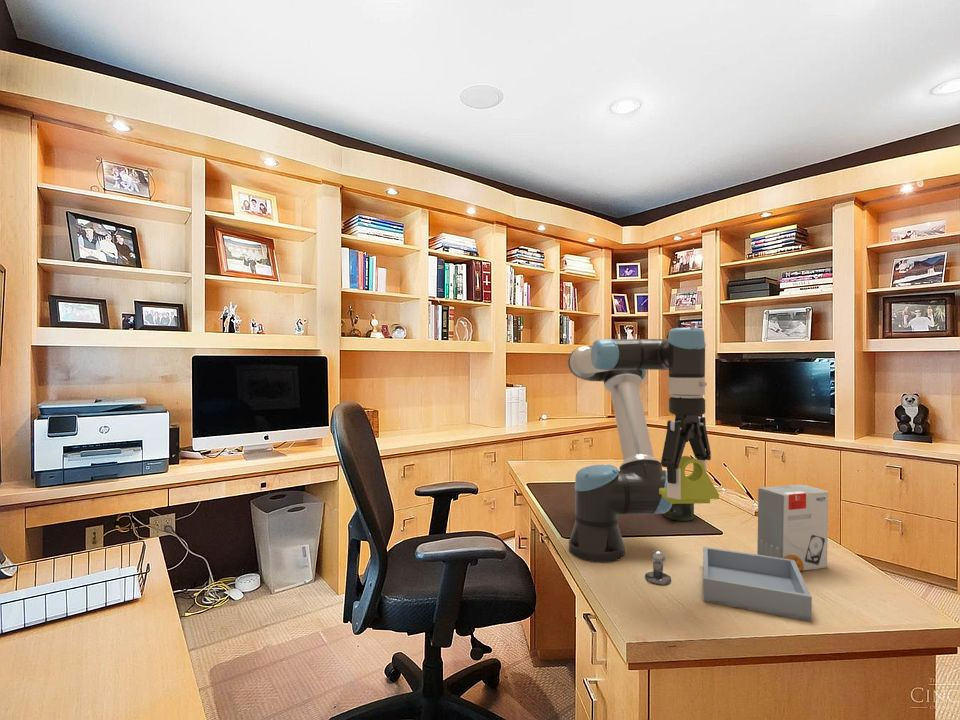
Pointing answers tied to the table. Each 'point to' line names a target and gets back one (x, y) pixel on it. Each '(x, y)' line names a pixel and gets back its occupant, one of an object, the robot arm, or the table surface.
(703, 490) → the bracket
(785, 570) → the bin
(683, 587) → the table surface
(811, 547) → the hard drive box
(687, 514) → the mug
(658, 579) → the ball stud
